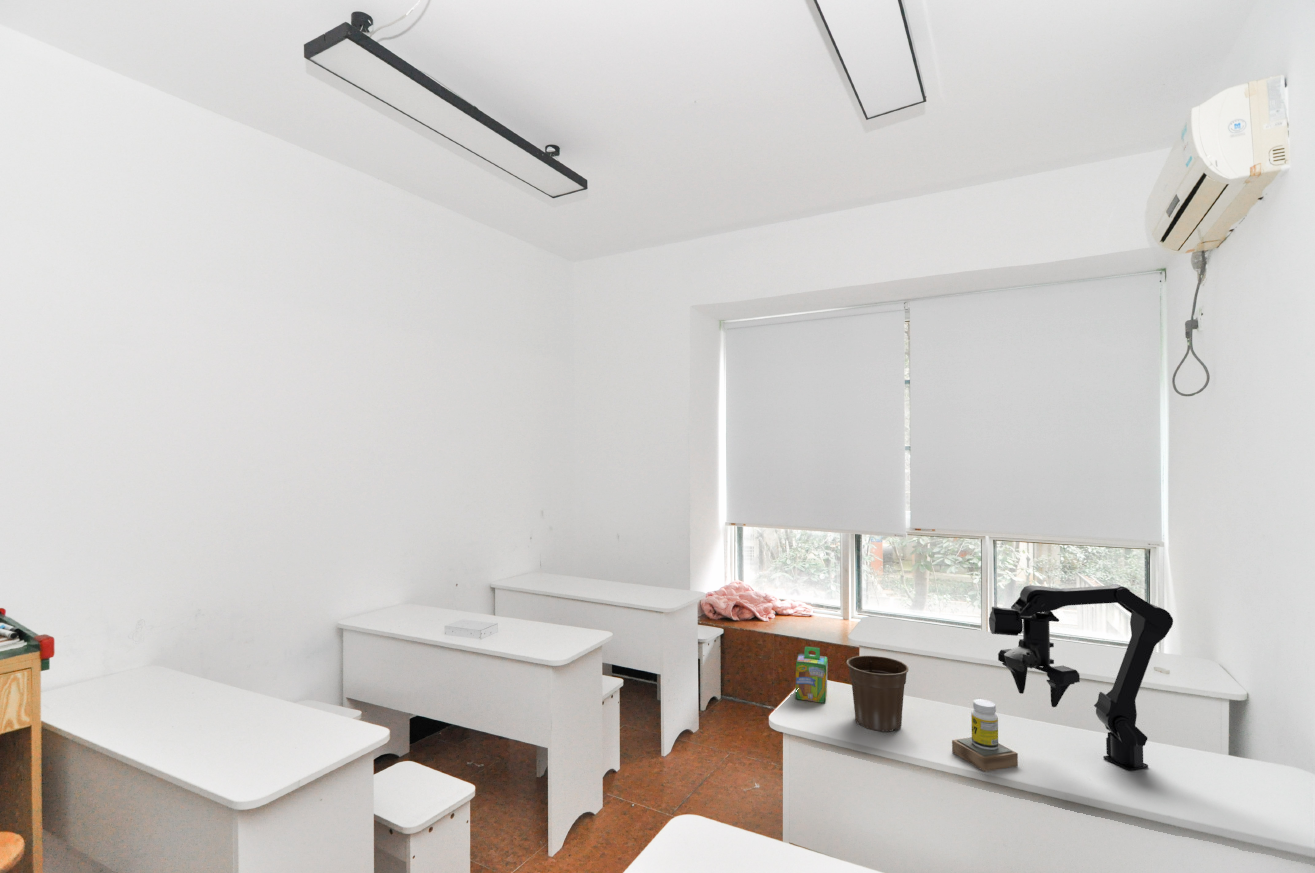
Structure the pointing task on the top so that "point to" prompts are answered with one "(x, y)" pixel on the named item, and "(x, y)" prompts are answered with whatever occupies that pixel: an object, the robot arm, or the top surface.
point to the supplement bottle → (984, 724)
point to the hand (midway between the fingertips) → (1037, 699)
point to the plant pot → (878, 691)
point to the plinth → (985, 755)
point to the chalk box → (811, 676)
